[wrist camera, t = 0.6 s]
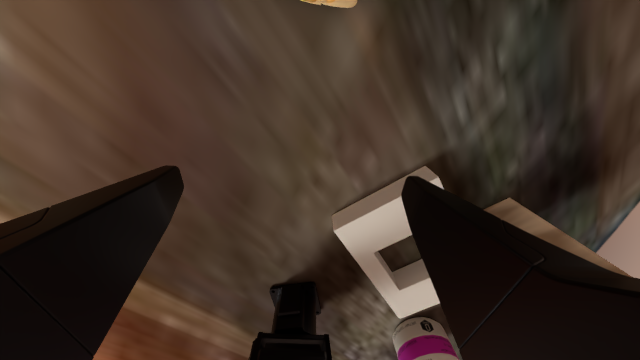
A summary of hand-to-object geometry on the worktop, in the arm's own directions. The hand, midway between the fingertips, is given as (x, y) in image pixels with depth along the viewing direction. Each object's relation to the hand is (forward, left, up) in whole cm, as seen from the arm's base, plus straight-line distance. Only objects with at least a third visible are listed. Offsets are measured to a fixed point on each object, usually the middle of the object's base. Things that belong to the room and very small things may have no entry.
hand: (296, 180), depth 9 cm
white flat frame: (-18, -10, -15) cm, 26 cm away
